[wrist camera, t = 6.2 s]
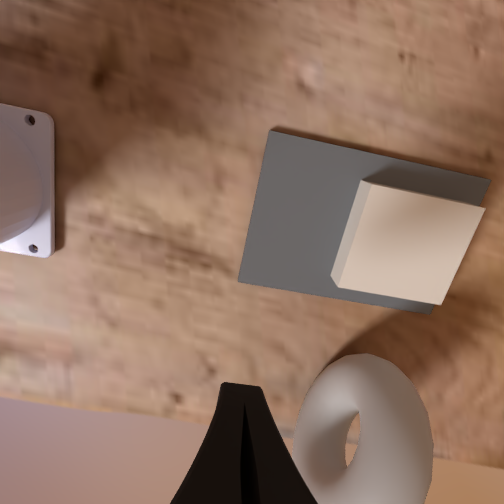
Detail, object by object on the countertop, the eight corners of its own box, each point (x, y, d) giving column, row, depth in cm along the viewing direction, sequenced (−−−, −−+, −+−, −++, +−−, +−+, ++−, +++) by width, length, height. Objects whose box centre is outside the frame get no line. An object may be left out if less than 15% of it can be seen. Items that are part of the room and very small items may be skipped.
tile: (337, 287, 18) (440, 305, 19) (371, 184, 16) (485, 208, 17) (330, 275, 20) (426, 292, 21) (360, 179, 18) (465, 202, 19)
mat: (237, 279, 20) (238, 282, 20) (269, 130, 17) (269, 130, 17) (426, 311, 22) (430, 314, 21) (486, 178, 19) (491, 179, 18)
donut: (349, 314, 21) (434, 454, 12) (389, 334, 22) (499, 482, 13) (274, 415, 24) (296, 592, 15) (311, 430, 25) (355, 608, 16)
